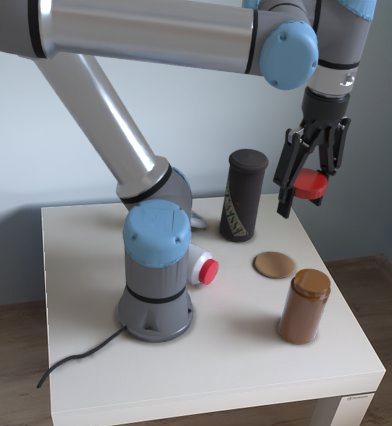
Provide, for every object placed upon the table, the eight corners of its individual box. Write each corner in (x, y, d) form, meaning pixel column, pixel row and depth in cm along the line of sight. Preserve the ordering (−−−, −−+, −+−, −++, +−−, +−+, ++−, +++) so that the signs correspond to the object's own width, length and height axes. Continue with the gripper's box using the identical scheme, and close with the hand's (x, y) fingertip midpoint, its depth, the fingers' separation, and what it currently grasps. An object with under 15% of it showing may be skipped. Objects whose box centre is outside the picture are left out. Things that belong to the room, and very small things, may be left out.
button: (211, 224, 128) (190, 220, 119) (207, 230, 129) (187, 226, 120) (183, 202, 131) (161, 196, 123) (179, 207, 132) (157, 202, 123)
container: (212, 224, 129) (223, 147, 115) (246, 220, 132) (260, 143, 117) (226, 245, 124) (238, 166, 109) (260, 240, 127) (277, 162, 112)
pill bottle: (173, 267, 120) (213, 287, 116) (155, 270, 113) (197, 292, 109) (184, 235, 117) (225, 255, 113) (166, 236, 110) (209, 257, 106)
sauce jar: (296, 349, 104) (312, 299, 93) (270, 326, 107) (283, 275, 97) (323, 334, 107) (341, 284, 97) (297, 312, 111) (312, 261, 101)
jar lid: (333, 194, 99) (336, 185, 97) (298, 203, 96) (300, 194, 94) (309, 173, 103) (311, 164, 102) (275, 181, 100) (276, 172, 99)
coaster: (273, 283, 116) (273, 281, 116) (247, 261, 121) (247, 259, 120) (302, 270, 120) (302, 268, 120) (276, 249, 125) (276, 247, 124)
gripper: (297, 110, 80) (271, 234, 97) (387, 86, 89) (349, 203, 106) (265, 91, 84) (246, 214, 101) (355, 70, 92) (322, 185, 109)
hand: (298, 208), depth 103 cm, fingers closed on jar lid, 8 cm apart
